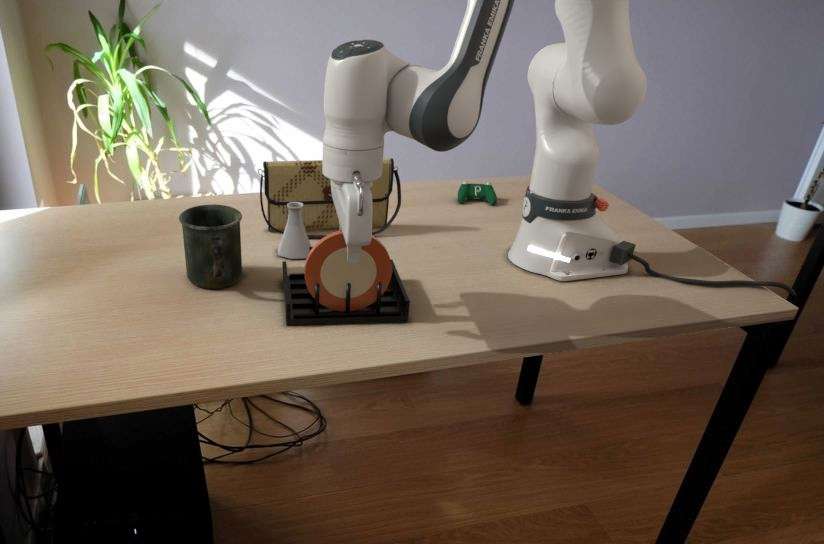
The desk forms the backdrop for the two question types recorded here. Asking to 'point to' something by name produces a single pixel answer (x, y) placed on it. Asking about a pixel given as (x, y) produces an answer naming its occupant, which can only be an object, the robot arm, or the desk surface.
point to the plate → (347, 272)
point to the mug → (212, 245)
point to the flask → (294, 234)
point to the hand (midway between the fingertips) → (348, 249)
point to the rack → (311, 312)
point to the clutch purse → (318, 195)
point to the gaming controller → (477, 192)
